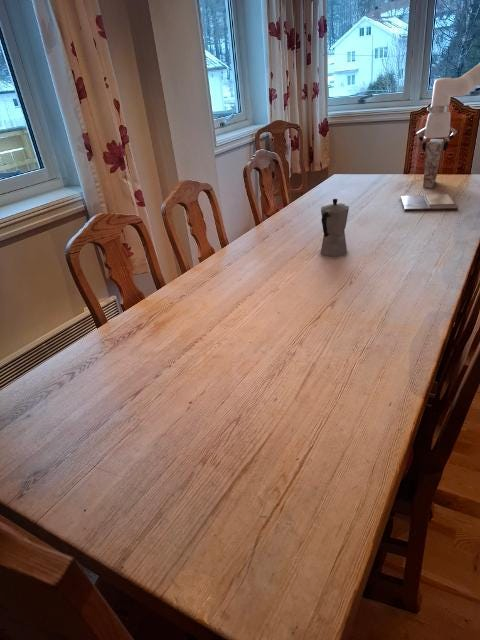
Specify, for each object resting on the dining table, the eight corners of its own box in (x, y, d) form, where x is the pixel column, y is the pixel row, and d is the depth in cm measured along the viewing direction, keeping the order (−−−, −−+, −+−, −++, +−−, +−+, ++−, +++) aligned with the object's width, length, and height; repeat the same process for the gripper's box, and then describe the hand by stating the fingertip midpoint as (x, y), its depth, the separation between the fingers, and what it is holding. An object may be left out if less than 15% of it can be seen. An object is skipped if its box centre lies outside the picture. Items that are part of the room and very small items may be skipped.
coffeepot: (329, 243, 153) (330, 192, 144) (354, 246, 148) (357, 194, 139) (309, 258, 143) (309, 205, 134) (335, 263, 138) (337, 207, 129)
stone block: (437, 188, 201) (444, 142, 191) (421, 188, 204) (427, 143, 194) (437, 181, 212) (443, 137, 201) (422, 181, 214) (427, 138, 204)
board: (448, 196, 188) (449, 194, 188) (457, 210, 172) (458, 207, 171) (400, 198, 193) (400, 195, 192) (404, 211, 176) (404, 208, 176)
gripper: (419, 112, 190) (415, 153, 199) (462, 109, 186) (455, 151, 195) (417, 110, 196) (413, 150, 205) (459, 107, 192) (452, 148, 201)
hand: (434, 150), depth 200 cm, fingers open, 8 cm apart
